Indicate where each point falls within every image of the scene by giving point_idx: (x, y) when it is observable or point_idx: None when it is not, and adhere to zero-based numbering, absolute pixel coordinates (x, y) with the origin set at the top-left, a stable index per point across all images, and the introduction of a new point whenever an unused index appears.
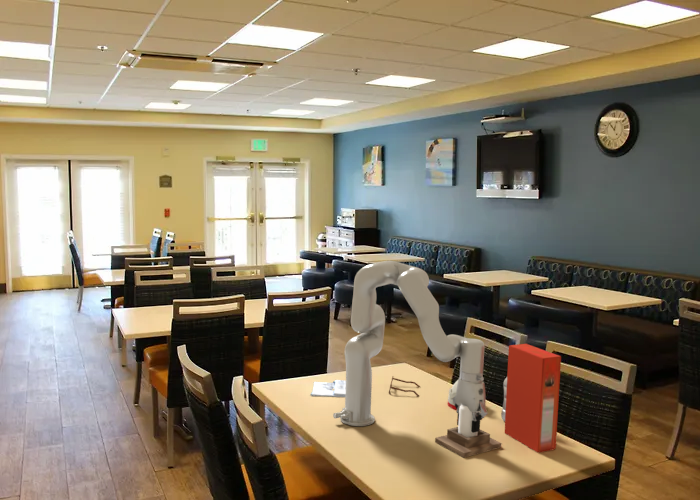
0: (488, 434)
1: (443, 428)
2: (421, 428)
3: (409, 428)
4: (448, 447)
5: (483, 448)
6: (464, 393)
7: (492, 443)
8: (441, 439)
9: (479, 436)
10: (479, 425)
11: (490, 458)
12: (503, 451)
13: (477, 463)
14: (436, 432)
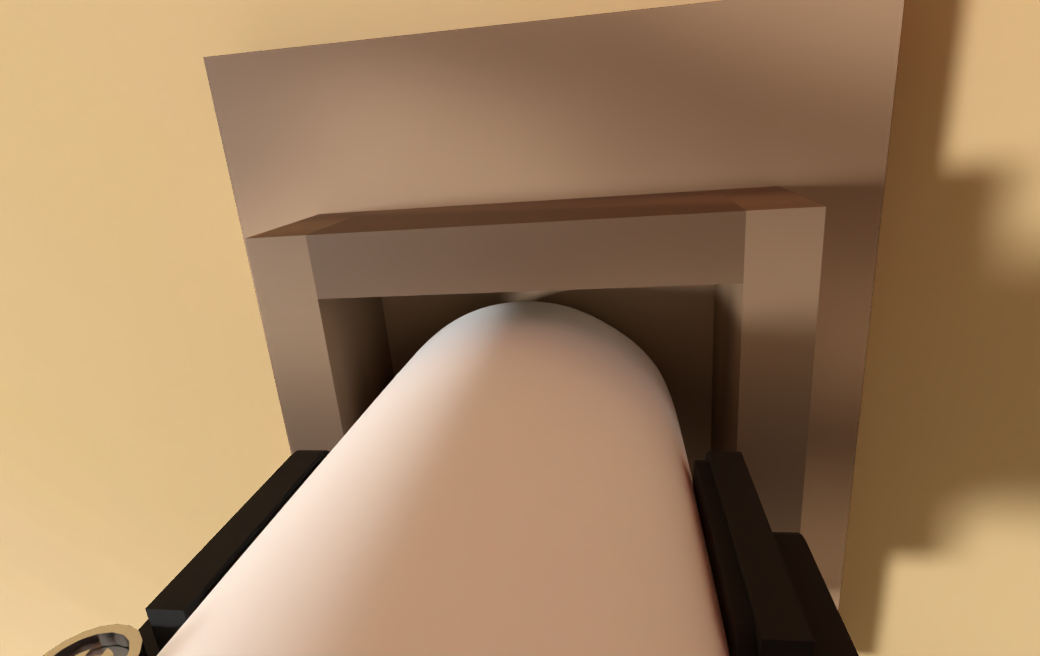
0: (820, 249)
1: (43, 319)
2: (15, 520)
3: (3, 608)
4: None
5: (856, 395)
6: None
7: (827, 160)
8: None
9: (789, 461)
10: (829, 599)
11: (1034, 420)
12: (1007, 78)
13: (1017, 630)
14: (137, 460)
